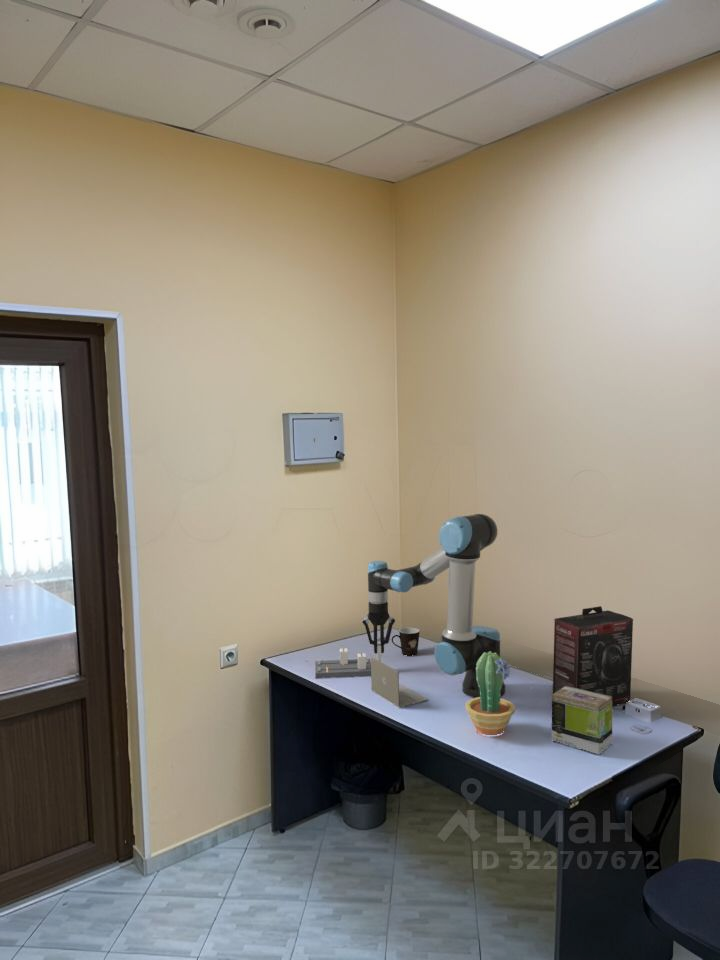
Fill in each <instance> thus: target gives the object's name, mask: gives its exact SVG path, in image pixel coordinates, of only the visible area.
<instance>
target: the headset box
mask: <svg viewBox="0 0 720 960" xmlns="http://www.w3.org/2000/svg"><path fill="white" fill-rule="evenodd" d="M592 611H594V612H592ZM553 620H554V621H553V622H554V627H553V628H554V632H553V636H554V637H553V664H552V665H553V668H552V671H553V672H552V694H554V693H555V692H557V691H558V690H560V689H562V688H563V687H565V686H569V687H573V688H577V689H582V690H586V691H590V692H595V693H599V694H603V695H608V696H611V697H612V705H615V706H618V705H617V704H620V705H624V704H627V703H626V702H628V701H629V700H630V701H631V689H632V684H631V683H632V664H633V663H632V659H633V634H634V633H633V631H634V629H633V628H634V619H633V618H632V617H631V616H630V617H629V615H628V616H627V615H625V614H621V613H617V612H614V611H611V610H607V609H606V610H603V607H602V606H600V605H599V606H593V607H587V608H582V613H581V614H577V615H571V616H563V617H558V618H553Z"/></svg>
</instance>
